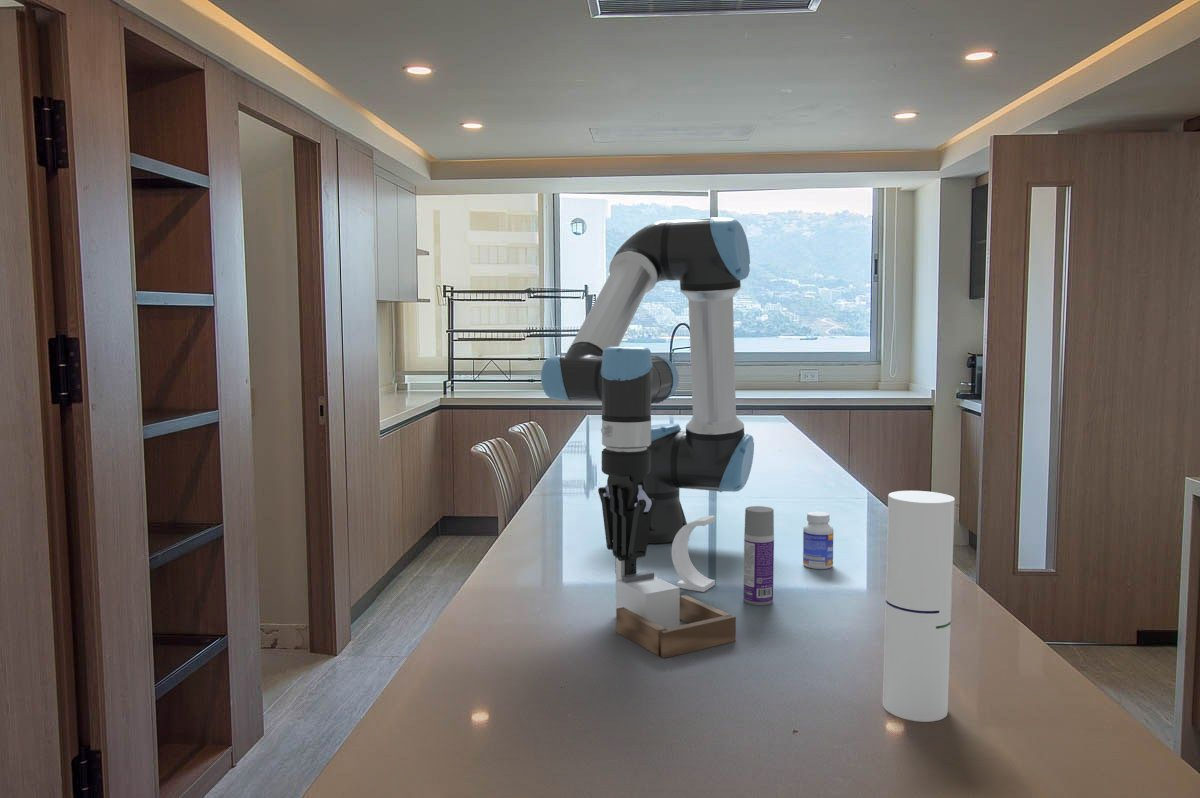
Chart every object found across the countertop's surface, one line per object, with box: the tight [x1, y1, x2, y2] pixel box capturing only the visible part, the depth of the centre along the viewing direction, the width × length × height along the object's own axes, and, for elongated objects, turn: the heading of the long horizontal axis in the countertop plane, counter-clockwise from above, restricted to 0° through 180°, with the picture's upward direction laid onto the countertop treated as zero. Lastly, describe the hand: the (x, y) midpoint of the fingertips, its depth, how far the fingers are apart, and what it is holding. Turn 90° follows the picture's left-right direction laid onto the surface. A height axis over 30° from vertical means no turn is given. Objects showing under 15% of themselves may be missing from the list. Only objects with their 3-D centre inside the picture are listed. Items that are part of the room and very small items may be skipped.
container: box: [743, 505, 775, 606], centre depth 144 cm, size 5×5×15 cm
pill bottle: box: [802, 511, 834, 570], centre depth 164 cm, size 5×5×10 cm
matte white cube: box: [615, 570, 681, 629], centre depth 133 cm, size 8×6×7 cm
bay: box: [615, 594, 737, 659], centre depth 128 cm, size 12×12×4 cm
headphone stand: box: [671, 515, 716, 593], centre depth 152 cm, size 5×6×12 cm
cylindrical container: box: [882, 490, 956, 723], centre depth 103 cm, size 7×7×25 cm
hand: (625, 598), depth 139 cm, fingers closed
